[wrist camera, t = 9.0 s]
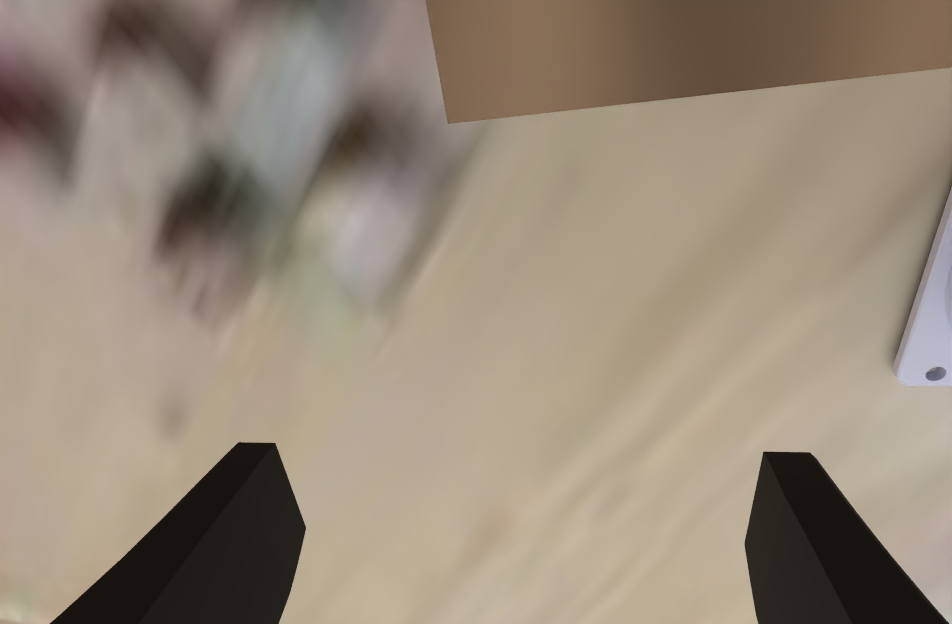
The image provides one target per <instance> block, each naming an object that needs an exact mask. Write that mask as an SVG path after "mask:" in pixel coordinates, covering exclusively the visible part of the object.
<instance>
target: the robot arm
mask: <svg viewBox="0 0 952 624" xmlns="http://www.w3.org/2000/svg"><path fill="white" fill-rule="evenodd" d="M934 367H938V369H936V370H934V371H931V372H927V371H928V370H930V369H932V368H934ZM893 372H894V374H895V376H896V377H897V379H898V381H899V382H900V383H902V384H904V385H907V386H952V187H951V190H950V193H949V197H948V200H947V203H946V206H945V209H944V212H943V215H942V218H941V221H940V224H939V227H938V230H937V233H936V236H935V239H934V242H933V246H932V249H931V252H930V255H929V258H928V261H927V264H926V267H925V270H924V273H923V276H922V279H921V282H920V285H919V288H918V292H917V295H916V298H915V301H914V304H913V307H912V310H911V313H910V316H909V319H908V322H907V325H906V328H905V331H904V334H903V337H902V341H901V344H900V347H899V350H898V353H897V356H896V359H895V362H894V365H893ZM305 530H306V526H305V524H304V521H303V518H302V515H301V513H300V510H299V507H298V504H297V502H296V499H295V496H294V493H293V491H292V488H291V485H290V482H289V480H288V477H287V474H286V471H285V469H284V466H283V463H282V460H281V458H280V455H279V452H278V449H277V447H276V444H275V443H242V442H238V443H237V444H236V445H235V446H234V447H233V448H232V449H231V450H230V451H229V452H228V453H227V454H226V455H225V456H224V457H223V458H222V459H221V460H220V461H219V462H218V463H217V464H216V465H215V466H214V467H213V468H212V469H211V470H210V471H209V472H208V473H207V474H206V475H205V476H204V477H203V478H202V479H201V480H200V481H199V482H198V483H197V484H196V485H195V486H194V487H193V488H192V489H191V490H190V491H189V492H188V493H187V494H186V495H185V496H184V497H183V498H182V499H181V500H180V501H179V502H178V503H177V504H176V505H175V506H174V508H173V509H172V510H171V511H170V512H169V513H168V514H167V515H166V516H165V517H164V518H163V519H162V520H161V521H160V522H158V523H157V524H156V525H155V526H154V527H153V528H152V529H151V530H150V531H149V532H148V533H147V534H146V535H145V536H144V537H143V538H142V539H141V540H140V541H139V542H138V543H137V544H136V545H135V546H134V547H133V548H132V549H131V550H130V551H129V552H128V553H127V554H126V555H125V556H124V557H123V558H122V559H121V560H120V561H118V562H117V563H116V564H115V565H114V566H113V567H112V568H111V569H110V570H109V571H108V572H106V573H105V574H104V575H103V576H102V577H101V578H100V579H99V580H98V581H97V582H95V583H94V584H93V585H92V586H91V587H90V588H89V589H88V590H87V591H86V592H85V593H83V594H82V595H81V596H80V597H79V598H78V599H77V600H76V601H75V602H74V603H72V604H71V605H70V606H69V607H68V608H67V609H66V610H65V611H64V612H63V613H62V614H60V615H59V616H58V617H57V618H56V619H55V620H53V621H52V622H51V623H50V624H279V621H280V618H281V616H282V613H283V610H284V608H285V605H286V602H287V600H288V597H289V594H290V591H291V587H292V583H293V580H294V576H295V572H296V568H297V564H298V560H299V556H300V552H301V547H302V543H303V539H304V535H305ZM745 550H746V557H747V563H748V569H749V576H750V582H751V588H752V594H753V600H754V605H755V611H756V616H757V620H758V624H949V623H948V622H947V621H946V620H945V619H944V617H943V616H942V615H941V614H940V613H939V612H938V611H937V609H936V608H935V607H934V606H933V605H932V604H931V602H930V601H929V600H928V599H927V598H926V597H925V595H924V594H923V593H922V592H921V591H920V589H919V588H918V587H917V586H916V585H915V584H914V582H913V581H912V580H911V579H910V578H909V576H908V575H907V574H906V573H905V572H904V571H903V569H902V568H901V567H900V566H899V565H898V563H897V562H896V561H895V560H894V559H893V557H892V556H891V555H890V554H889V552H888V551H887V550H886V549H885V548H884V546H883V545H882V544H881V543H880V541H879V540H878V539H877V538H876V536H875V535H874V534H873V532H872V531H871V530H870V529H869V527H868V526H867V525H866V524H865V522H864V521H863V520H862V518H861V517H860V516H859V515H858V513H857V512H856V511H855V509H854V508H853V507H852V506H851V504H850V503H849V502H848V500H847V499H846V498H845V496H844V495H843V494H842V492H841V491H840V490H839V488H838V487H837V486H836V484H835V483H834V482H833V480H832V479H831V478H830V476H829V475H828V474H827V472H826V471H825V470H824V468H823V467H822V466H821V464H820V463H819V462H818V460H817V459H816V458H815V457H814V456H813V455H812V454H811V453H806V452H763V457H762V462H761V467H760V471H759V476H758V481H757V486H756V491H755V496H754V500H753V505H752V510H751V515H750V520H749V525H748V529H747V534H746V539H745Z"/></svg>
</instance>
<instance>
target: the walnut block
mask: <svg viewBox="0 0 952 624" xmlns="http://www.w3.org/2000/svg"><path fill="white" fill-rule="evenodd" d="M426 5H427V10H428V16H429V21H430V27H431V32H432V38H433V43H434V49H435V54H436V60H437V65H438V71H439V77H440V82H441V88H442V93H443V99H444V104H445V110H446V115H447V121H448V124H450V123H459V122H468V121H477V120H486V119H495V118H504V117H513V116H522V115H531V114H539V113H548V112H557V111H566V110H575V109H584V108H593V107H602V106H611V105H620V104H629V103H637V102H646V101H655V100H664V99H673V98H682V97H691V96H700V95H709V94H718V93H727V92H735V91H744V90H753V89H762V88H771V87H780V86H789V85H798V84H807V83H816V82H825V81H833V80H842V79H851V78H860V77H869V76H878V75H887V74H896V73H905V72H914V71H923V70H931V69H940V68H949V67H952V0H426Z"/></svg>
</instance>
